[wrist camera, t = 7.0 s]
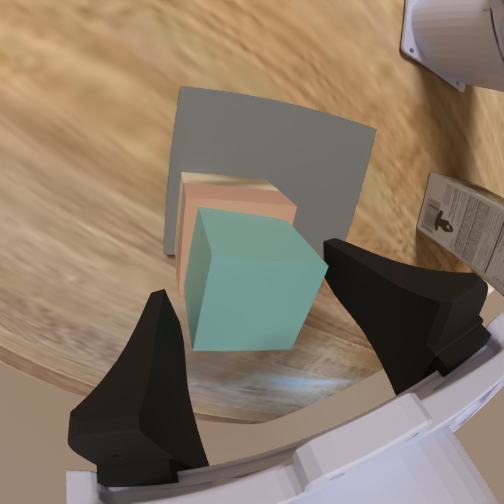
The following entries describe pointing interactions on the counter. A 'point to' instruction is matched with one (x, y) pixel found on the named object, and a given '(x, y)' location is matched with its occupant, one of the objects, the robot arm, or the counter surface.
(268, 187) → the maple slab
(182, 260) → the terracotta slab
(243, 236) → the teal block
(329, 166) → the slate board
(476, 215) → the coffee box
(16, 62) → the counter surface
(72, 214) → the counter surface
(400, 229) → the counter surface
